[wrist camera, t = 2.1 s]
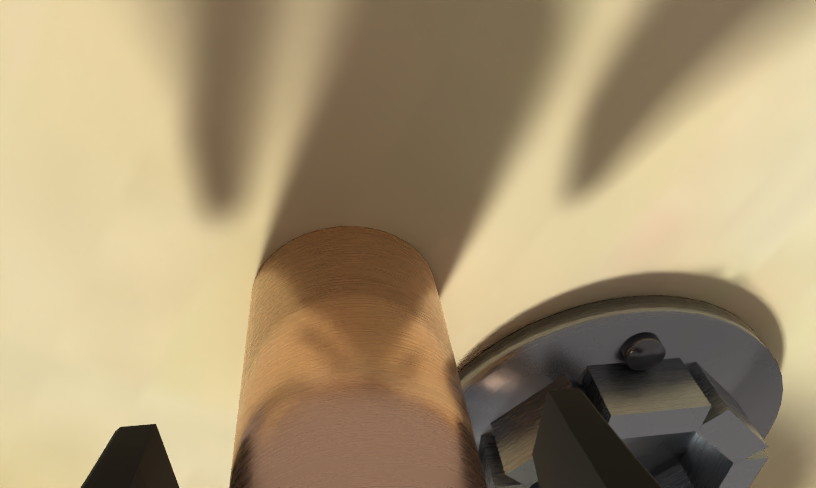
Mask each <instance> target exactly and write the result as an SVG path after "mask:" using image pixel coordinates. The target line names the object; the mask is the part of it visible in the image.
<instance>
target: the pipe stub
mask: <svg viewBox="0 0 816 488" xmlns="http://www.w3.org/2000/svg"><path fill="white" fill-rule="evenodd" d="M229 488H487V484H486V480H485V476H484V472H483V468H482V464H481V460H480V456H479V452H478V448H477V444H476V441H475V437H474V433H473V429H472V425H471V421H470V417H469V413H468V409H467V405H466V401H465V397H464V394H463V390H462V386H461V382H460V378H459V374H458V370H457V366H456V362H455V358H454V354H453V350H452V347H451V343H450V339H449V335H448V331H447V327H446V323H445V319H444V315H443V311H442V307H441V303H440V300H439V296H438V292H437V288H436V284H435V280H434V277H433V274H432V271H431V269H430V267H429V265H428V264H427V262H426V260H425V259H424V258H423V257H422V256H421V254H420V253H419V252H418V251H417V250H415V249H414V248H413V247H412V246H411V245H409V244H408V243H406V242H405V241H403V240H402V239H399V238H397V237H395V236H393V235H391V234H388V233H385V232H383V231H379V230H375V229H370V228H363V227H334V228H327V229H322V230H317V231H314V232H311V233H308V234H305V235H302V236H300V237H298V238H296V239H294V240H292V241H290V242H289V243H287V244H285V245H284V246H282V247H281V248H280V249H278V250H277V251H276V252H275V253H274V254H272V255H271V257H270V258H269V259H268V260H267V261H266V262H265V263H264V265H263V266H262V268H261V269H260V271H259V273H258V275H257V277H256V279H255V282H254V285H253V289H252V297H251V305H250V314H249V323H248V331H247V340H246V349H245V357H244V366H243V374H242V383H241V392H240V400H239V409H238V418H237V426H236V435H235V444H234V452H233V461H232V469H231V478H230V487H229Z"/></svg>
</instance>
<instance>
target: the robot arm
mask: <svg viewBox="0 0 816 488" xmlns="http://www.w3.org/2000/svg"><path fill="white" fill-rule="evenodd" d="M532 456H533V461H534V465H535V469H536V474H537V478H538V482H539V486H540V488H663V487H662V486H661V485H660V484H659V483H658V482H657V481H656V479H655V478H654V477H653V476H652V475H651V474H650V473H649V472H648V470H647V469H646V468H645V467H644V466H643V465H642V464H641V462H640V461H639V460H638V459H637V458H636V457H635V455H634V454H633V453H632V452H631V451H630V449H629V448H628V447H627V446H626V445H625V443H624V442H623V441H622V440H621V439H620V437H619V436H618V435H617V434H616V433H615V431H614V430H613V429H612V428H611V426H610V425H609V424H608V423H607V421H606V420H605V419H604V418H603V416H602V415H601V414H600V413H599V411H598V410H597V409H596V408H595V406H594V405H593V404H592V403H591V401H590V400H589V399H588V398H587V396H586V395H585V394H584V392H583V391H582V390H580V389H579V388H571V389H560V390H548V392H547V396H546V400H545V404H544V408H543V412H542V416H541V420H540V424H539V428H538V432H537V436H536V440H535V444H534V448H533V452H532ZM81 488H179V486H178V483H177V480H176V477H175V475H174V472H173V469H172V467H171V464H170V461H169V458H168V456H167V453H166V450H165V447H164V445H163V442H162V439H161V437H160V434H159V431H158V428H157V426H156V424H150V425H139V426H127V427H120V428H119V429H118V430H116V431H115V433H114V434H113V436H112V438H111V439H110V441H109V443H108V444H107V446H106V448H105V449H104V451H103V453H102V454H101V456H100V458H99V459H98V461H97V462H96V464H95V466H94V467H93V469H92V471H91V472H90V474H89V475H88V477H87V479H86V480H85V482H84V483H83V485H82V486H81Z"/></svg>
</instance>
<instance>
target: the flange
mask: <svg viewBox="0 0 816 488" xmlns="http://www.w3.org/2000/svg"><path fill="white" fill-rule="evenodd" d="M458 374H459V378H460V382H461V386H462V390H463V394H464V397H465V401H466V405H467V409H468V413H469V417H470V421H471V425H472V429H473V433H474V437H475V441H476V444H477V448H478V452H479V456H480V460H481V464H482V468H483V472H484V476H485V480H486V484H487V488H540V486H539V482H538V478H537V474H536V469H535V465H534V461H533V456H532V452H533V448H534V444H535V440H536V436H537V432H538V428H539V424H540V420H541V416H542V412H543V408H544V404H545V400H546V396H547V392H548V390H560V389H571V388H579V389H580V390H582V391H583V392H584V394H585V395H586V396H587V398H588V399H589V400H590V401H591V403H592V404H593V405H594V406H595V408H596V409H597V410H598V411H599V413H600V414H601V415H602V416H603V418H604V419H605V420H606V421H607V423H608V424H609V425H610V426H611V428H612V429H613V430H614V431H615V433H616V434H617V435H618V436H619V437H620V439H621V440H622V441H623V442H624V443H625V445H626V446H627V447H628V448H629V449H630V451H631V452H632V453H633V454H634V455H635V457H636V458H637V459H638V460H639V461H640V462H641V464H642V465H643V466H644V467H645V468H646V469H647V470H648V472H649V473H650V474H651V475H652V476H653V477H654V478H655V479H656V481H657V482H658V483H659V484H660V485H661V486H662V487H663V488H749V486H750V485H751V483H752V482H753V480H754V479H755V477H756V476H757V474H758V472H759V471H760V469H761V468H762V466H763V465H764V463H765V462H766V460H767V459H768V456H767V455H766V453H765V452H764V450H763V449H765V448H767V447H768V445H767V444H766V443H765V441H764V440H763V439H764V438H765V436H766V435H767V434H768V432H769V430H770V428H771V426H772V425H773V423H774V421H775V419H776V417H777V414H778V411H779V408H780V405H781V400H782V392H783V385H782V375H781V372H780V369H779V367H778V364H777V362H776V360H775V359H774V357H773V356H772V354H771V353H770V351H769V350H768V349H767V348H766V346H765V345H764V344H763V343H762V341H761V340H760V339H759V338H758V337H757V335H756V334H755V333H754V332H753V330H752V329H751V328H750V327H748V326H747V325H746V324H745V323H744V322H743V321H742V320H741V319H740V318H738V317H736V316H735V315H733V314H731V313H730V312H728V311H726V310H724V309H722V308H719V307H716V306H714V305H711V304H709V303H706V302H701V301H697V300H692V299H688V298H680V297H669V296H635V297H627V298H619V299H611V300H606V301H601V302H596V303H592V304H587V305H583V306H579V307H576V308H573V309H570V310H567V311H563V312H560V313H557V314H554V315H552V316H549V317H547V318H545V319H542V320H540V321H537V322H535V323H533V324H530V325H528V326H526V327H524V328H522V329H520V330H519V331H517V332H515V333H513V334H511V335H509V336H507V337H505V338H504V339H502V340H501V341H499V342H497V343H496V344H494V345H493V346H491V347H490V348H488V349H487V350H485V351H484V352H482V353H481V354H480V355H479V356H477V357H476V358H475V359H474V360H472V361H471V362H470V363H469V364H467V365H466V366H465V367H464V368H463V369H462V370H461V371H460V372H459V373H458Z"/></svg>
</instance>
